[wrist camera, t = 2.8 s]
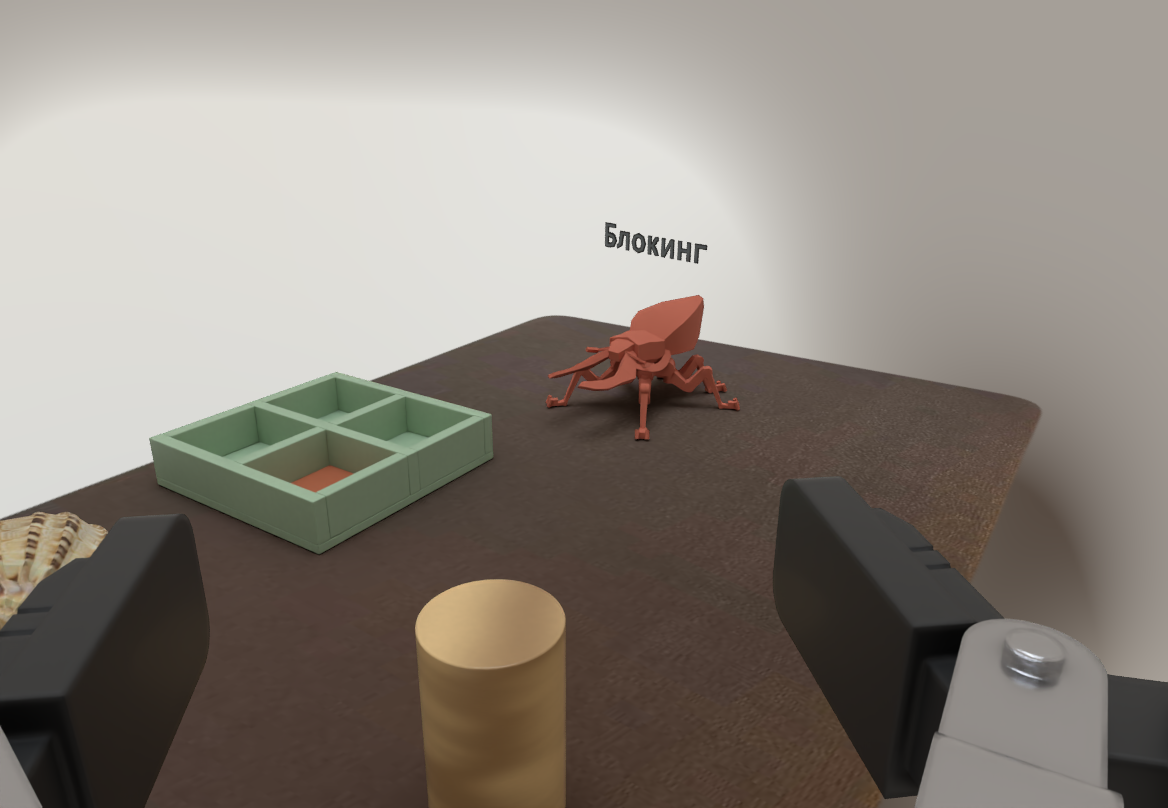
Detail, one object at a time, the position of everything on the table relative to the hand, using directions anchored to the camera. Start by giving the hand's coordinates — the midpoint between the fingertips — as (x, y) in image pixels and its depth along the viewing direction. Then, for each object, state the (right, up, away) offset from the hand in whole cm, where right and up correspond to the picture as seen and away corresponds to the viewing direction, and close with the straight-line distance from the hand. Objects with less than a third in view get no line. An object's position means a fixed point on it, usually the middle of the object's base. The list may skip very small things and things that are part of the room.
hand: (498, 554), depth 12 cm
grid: (-14, -2, +41) cm, 43 cm away
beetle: (+5, +2, +52) cm, 52 cm away
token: (-2, -12, +17) cm, 20 cm away
